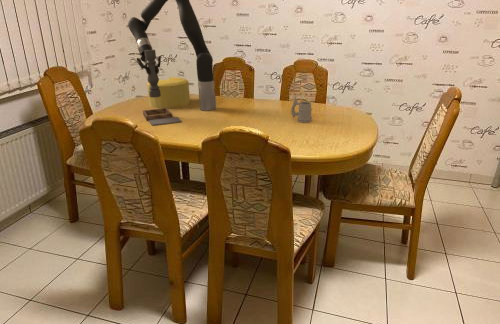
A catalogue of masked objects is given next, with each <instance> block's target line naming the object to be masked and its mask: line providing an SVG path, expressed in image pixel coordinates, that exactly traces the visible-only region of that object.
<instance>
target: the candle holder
mask: <svg viewBox="0 0 500 324" xmlns="http://www.w3.org/2000/svg"><path fill="white" fill-rule="evenodd" d="M144 51H145V57H146V59H147V62H146V63H147V64H148V68H149V71H150V75H148V74H147V82H149V83H150V87H149V89H150V90H149V96H150V97H160V96H161V93H160V89H159V86H158V85H157V84H158V82H159V80H160V78H159V75H158V74H157V72H156V68H155V63H157V60H156V59H155V58H156V57H157V55H156V54H157V53H156V49H153V50H144ZM155 56H156V57H155Z"/></svg>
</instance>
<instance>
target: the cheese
mask: <svg viewBox="0 0 500 324" xmlns="http://www.w3.org/2000/svg"><path fill="white" fill-rule="evenodd" d="M146 85H147V95H148V96H147V97H148V103H149V104H148V105H149V106H150V107H151V108H154V109H162V108H167V109H174V108H181V107H185V106H188V105H189V104H190V103H191V100H190V99H191V96H190V87H189V85H190V83H189V80H188V79H185V78H182V77H175V76H174V77H173V76H170V77H168V79H159V82H158V84H157V85H158V86H159V89H160V93H161V96H160V97H150V96H149V90H150V89H149V87H150V83H149V82H148V81H147V83H146Z"/></svg>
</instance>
